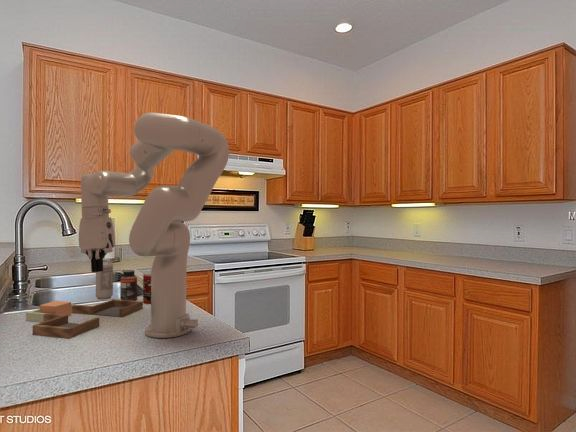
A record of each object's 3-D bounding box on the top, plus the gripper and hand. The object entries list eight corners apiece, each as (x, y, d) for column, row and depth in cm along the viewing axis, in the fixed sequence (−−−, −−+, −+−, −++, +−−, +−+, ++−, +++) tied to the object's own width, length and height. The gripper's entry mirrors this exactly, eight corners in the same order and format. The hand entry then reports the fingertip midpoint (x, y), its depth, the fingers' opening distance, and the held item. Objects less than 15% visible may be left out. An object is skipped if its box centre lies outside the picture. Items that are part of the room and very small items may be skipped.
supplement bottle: (132, 297, 145) (132, 269, 145) (140, 299, 141) (140, 270, 141) (117, 300, 140) (117, 270, 140) (125, 302, 137) (125, 272, 137)
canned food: (139, 301, 138) (140, 272, 138) (160, 298, 144) (160, 270, 144) (147, 305, 133) (147, 275, 133) (168, 302, 138) (169, 273, 138)
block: (71, 315, 119) (71, 302, 119) (55, 321, 113) (55, 306, 113) (55, 314, 120) (56, 300, 120) (39, 319, 114) (39, 305, 114)
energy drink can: (110, 295, 147) (110, 258, 147) (114, 298, 143) (115, 260, 143) (93, 297, 143) (94, 259, 143) (98, 300, 139) (98, 261, 139)
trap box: (142, 308, 128) (142, 301, 128) (69, 338, 97) (69, 329, 97) (81, 303, 134) (81, 297, 134) (-7, 330, 103) (-7, 321, 103)
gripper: (123, 212, 117) (125, 269, 117) (84, 214, 120) (86, 270, 120) (107, 212, 110) (109, 273, 109) (65, 214, 113) (67, 273, 113)
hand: (97, 271), depth 115 cm, fingers closed
